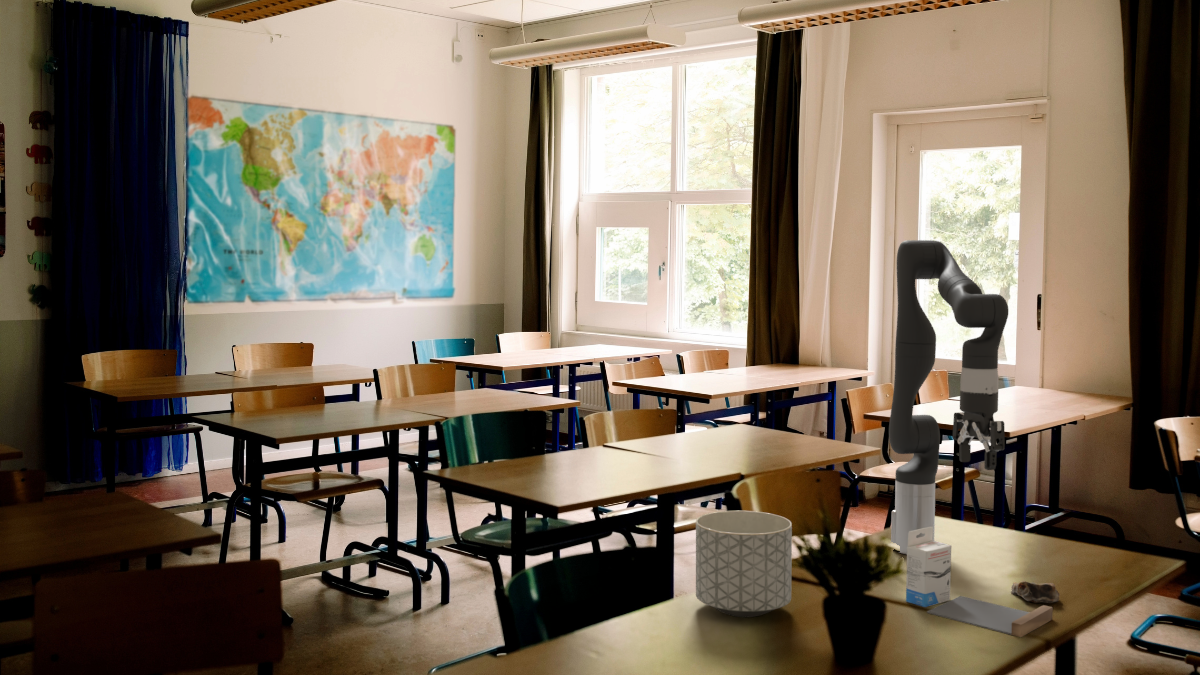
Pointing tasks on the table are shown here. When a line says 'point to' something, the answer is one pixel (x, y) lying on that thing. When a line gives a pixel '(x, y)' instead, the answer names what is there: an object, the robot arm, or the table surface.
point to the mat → (979, 613)
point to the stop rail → (1031, 621)
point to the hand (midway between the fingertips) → (977, 465)
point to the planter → (743, 562)
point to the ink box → (927, 569)
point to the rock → (1036, 592)
